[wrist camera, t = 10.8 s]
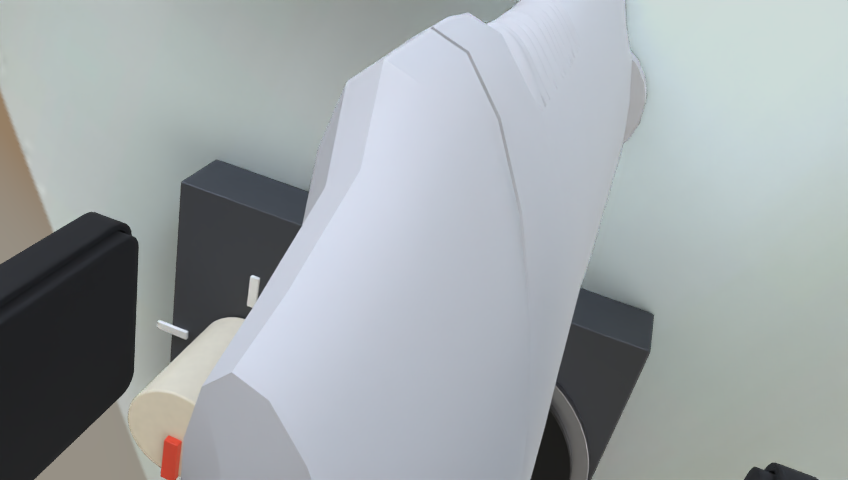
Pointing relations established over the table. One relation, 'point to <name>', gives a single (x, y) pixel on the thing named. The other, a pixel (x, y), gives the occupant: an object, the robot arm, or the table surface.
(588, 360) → the hob
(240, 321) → the knob
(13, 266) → the robot arm
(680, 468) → the table surface
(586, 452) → the burner
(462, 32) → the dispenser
